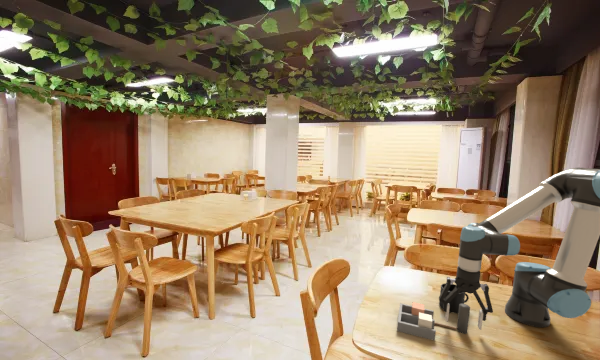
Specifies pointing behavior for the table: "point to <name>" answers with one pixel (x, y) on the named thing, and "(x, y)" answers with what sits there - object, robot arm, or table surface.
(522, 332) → the table surface
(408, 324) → the lane shelf
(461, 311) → the block
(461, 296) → the mug
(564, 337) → the table surface
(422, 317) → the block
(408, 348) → the table surface
